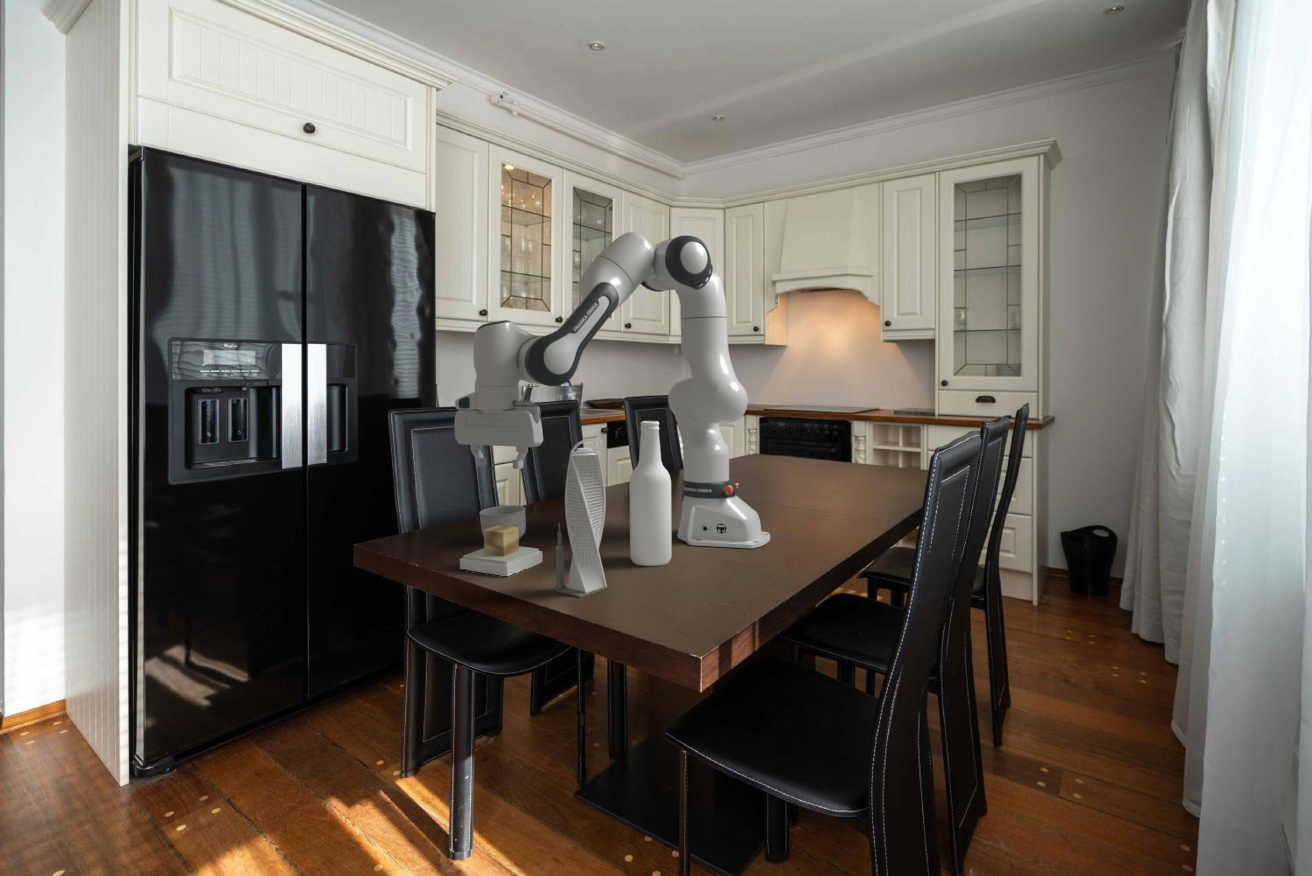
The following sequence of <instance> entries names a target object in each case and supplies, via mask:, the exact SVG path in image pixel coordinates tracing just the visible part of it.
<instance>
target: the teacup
mask: <svg viewBox="0 0 1312 876" xmlns="http://www.w3.org/2000/svg"><path fill="white" fill-rule="evenodd" d="M479 520H480V528H481V533H482V536H483V537H484V530H486V529H489V528H492V527H495V526H498V525H501V526H510V527H518V538H519V540H520V539H521V537H523V535H525V533H526V529H527V528H526V527H527V525H526V523H527V522H526V521H527V519H526V507H525V506H523V505H516V504H512V505H511V504H509V505H507V504H503V505H498V506H492V507H487V508H484V509H482V510H480V511H479Z"/></svg>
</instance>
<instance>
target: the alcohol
mask: <svg viewBox="0 0 1312 876" xmlns="http://www.w3.org/2000/svg"><path fill="white" fill-rule="evenodd" d="M639 424H640V429H639V430H640V443H639V457H638V463H637V465H636V467H635V468H634V470H633V471H632V472H631V474H630V478H629V534H630V535H629V540H630V541H629V542H630V545H629V547H630V548H629V550H630V553H629V554H630V556H629V557H630V560H631V562H632V563H633V564H635V565H636V566H642V567H660V566H665V565H667V564H669V563H670V561H671V559H672V556H673V555H672V480H671V476H670V472H669V471H668V469H666V468H665V466H664V465H663V462H662V461H663V460H662V453H661V442H660V432H659V431H660V427H659V425H660V422H659V421H657V420H643V421H641V422H640V423H639Z"/></svg>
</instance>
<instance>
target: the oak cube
mask: <svg viewBox="0 0 1312 876" xmlns="http://www.w3.org/2000/svg"><path fill="white" fill-rule="evenodd" d="M519 540H520V539H519V538H518V527H510V526H501V525H498V526H495V527H492V528H489V529H486V530H484V536H483V549H484V553H485V554H490V555H497V556H506V555H509V554H511V553H514V552H517V551H519V543H520V541H519Z"/></svg>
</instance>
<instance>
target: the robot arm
mask: <svg viewBox="0 0 1312 876" xmlns="http://www.w3.org/2000/svg"><path fill="white" fill-rule="evenodd" d="M713 269H714V265H713V264H712V258H711V255H710V251H709V249H708V247H707V245H706V244H705V242H704V241H703V240H702V239H700V238H699V237H696V236H694V235H687V234H686V235H679V236H676V237H673V238H669V239H665V240H662V241H661V242H659V243H656V244H654V245H653V244H652V243H651V242H650V241H649V240H648V239H647V238H646V237H645V236H644V235H642V234H640V233H637V232H635V231H628V232H626V233H622V235H620V236H618V237H617V238H615V239H614V240H613V241H611V243H609V245H607V246H606V247H605V248H603V249H602V250H601V251H600V252H599V254H597V256H596V257H595V258H594V259H593V260H592V261H591V262H590V264H588V266H587V267H586V269H585V270H584V272H583V273H582V275H581V276H580V279H579V280H578V289H579V293H580V296H581V300H580V303H578V305H577V306H576V308H575V309H574V310H573V312H571V314H570V315H569V316H568V317H567V319H566V320H565V321H564V322H563V323H562V324H561V325H560V327H559V328H558V329H557V330H555V331H554V332H551V333H549V334H546V335H543V336H541V337H540V336H539V337H538V336H537V335H534V334H531V333H530V332H528V331H525V330H524V329H522V328H520V327H519V326H518V325H516V324H515V323H514V322H513V321H512V320H508V319H507V320H505V319H504V320H497V321H493V322H488V323H483V324H482V325H480V326H478V328H476V330H475V333H474V338H473V339H474V340H473V366H474V367H473V368H474V370H475V382H474V391H473V392H471V393H469V394H466V395H464V396H461V397H459V398H457V399H455V401H454V407H455V409H456V410H457V411H456V413H455V414H454V415H455V416H454V438H455V440H456V442H457V444H459V445H470V452H471V453H472V455H473V457H474V458H475V466H476V467H486V466H487V465H488V464H487V461H488V460H487V459H488V457H484V455H483V453H482V449H483V446H490V447H495V446H497V447H515V451H516V453H517V455H516V457H515V459H512V469H513V470H514V469H519V470H521V469H523V468H524V460H525V457H526V456H527V454H528V452H529V450H528V448H536V447H539V446H542V444H543V442H544V434H543V425H542V420H541V409H540V408H541V407H540V406H539V405H538V404H537V403H535V402H534V401H533V400H526V401H524V400H520V396H519V395H520V391H519V390H520V387H519V385H520V382H521V381H522V382H523V381H524V382H526V383H529V384H537V385H543V386H547V387H559V386H561V385H564V384H566V383H567V382H569V381H570V380H571V379H572V378H573V377H574V375H575V374H576V372H577V369H578V367H579V363H580V360H581V357H582V356H583V352H584V351H585V348H587V346H588V345H589V343H590V342H591V341H592V339H593V338H594V337H595V336H596V334H597V333H598V332H599V330H601V328H602V327H603V325H605V323H606V322H607V320H609V318H610V316H611V315H613V313H614V312H615V311H616V310H617V309H618V308H619V307H620V306H622V305H623V304H624V302H626V301H627V300H628V299H629V298H630V296H631V295H633V293H634V292H635V290H637V288H638V287H639V286H640V285H641V286H642V287H643V288H645V289H647V290H649V291H651V292H657V293H658V292H659V293H660V292H661V293H662V292H665V291H674V292H675V293H676V294H677V297H678V300H679V304H680V309H679V310H680V313H679V314H680V315H679V316H680V317H679V318H680V342H681V343H680V345H681V354H682V355H683V357H684V358H685V359H686V361H687V363H688V365H689V368H690V372H691V375H692V377H688V378H685V379H682V380H680V381H678V382H676V383H675V384H674V385H673V386H672V387H671V389H670V390H669V393H668V396H667V401H668V406H669V409H670V411H671V412H672V413H673V415H674V416H675V419H676V423H677V426H678V430H679V434H680V440H681V445H682V452H683V453H682V455H683V479H682V480H681V501H682V511H681V518H680V523H679V528H678V531H677V532H678V533H677V535H676V536H677V538H678V539H679V540H681V541H683V542H685V543H687V544H688V545H689V546H699V547H704V546H705V547H717V548H718V547H719V548H733V549H734V548H738V549H755V548H759V547H763V546H764V545H767V544H768V543H769V542H770V541H771V534H770V533H769V532H767V531H762V526H761V520H760V517H759V514H758V511H756V510H755V509H754V508H752V507H751V506H750V505H749V504H747V503H746V502H745V501H744V500H742V498H740V497H739V496H738V495H737V492H738V490H737V489H738V488H739V482H737V483H735V482H733V481H732V480H731V479H730V449H729V446H728V444H727V442H726V441H725V439H724V438H723V436H722V433H721V428H720V425H725V424H729V423H733V422H736V421H738V420H739V419H741V418H743V416H744V415H745V413H746V411H747V407H748V403H749V397H748V393H747V390H746V389H745V387H744V386H743V385H742V384H741V383H740V381H739V379H738V378H737V376H736V373H735V370H734V367H733V364H732V361H731V356H730V351H729V350H730V349H729V339H728V318H727V317H728V316H727V313H728V312H727V301H726V293H725V291H724V289H725V288H724V286H723V281H722V279H721V277H720V276H719V275H718V274H716V273H715V272H714V271H713Z"/></svg>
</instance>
